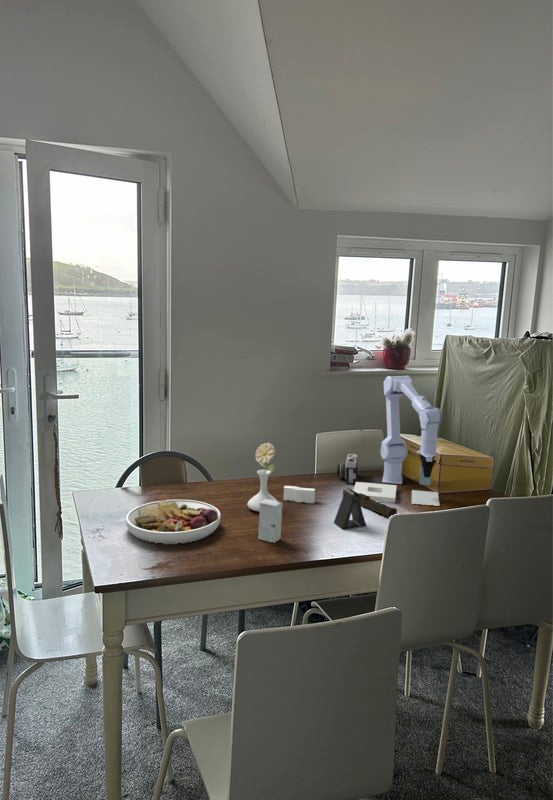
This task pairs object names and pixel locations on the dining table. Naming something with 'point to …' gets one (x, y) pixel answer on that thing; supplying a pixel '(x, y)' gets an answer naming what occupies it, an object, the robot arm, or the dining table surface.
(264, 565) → the dining table surface
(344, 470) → the camera
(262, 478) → the flower in vase
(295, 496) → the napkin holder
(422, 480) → the teal rectangular block
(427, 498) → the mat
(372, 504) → the dark brown wooden bar
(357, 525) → the phone stand
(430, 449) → the robot arm
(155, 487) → the dining table surface
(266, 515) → the skincare box
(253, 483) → the dining table surface
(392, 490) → the plate
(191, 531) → the bowl
